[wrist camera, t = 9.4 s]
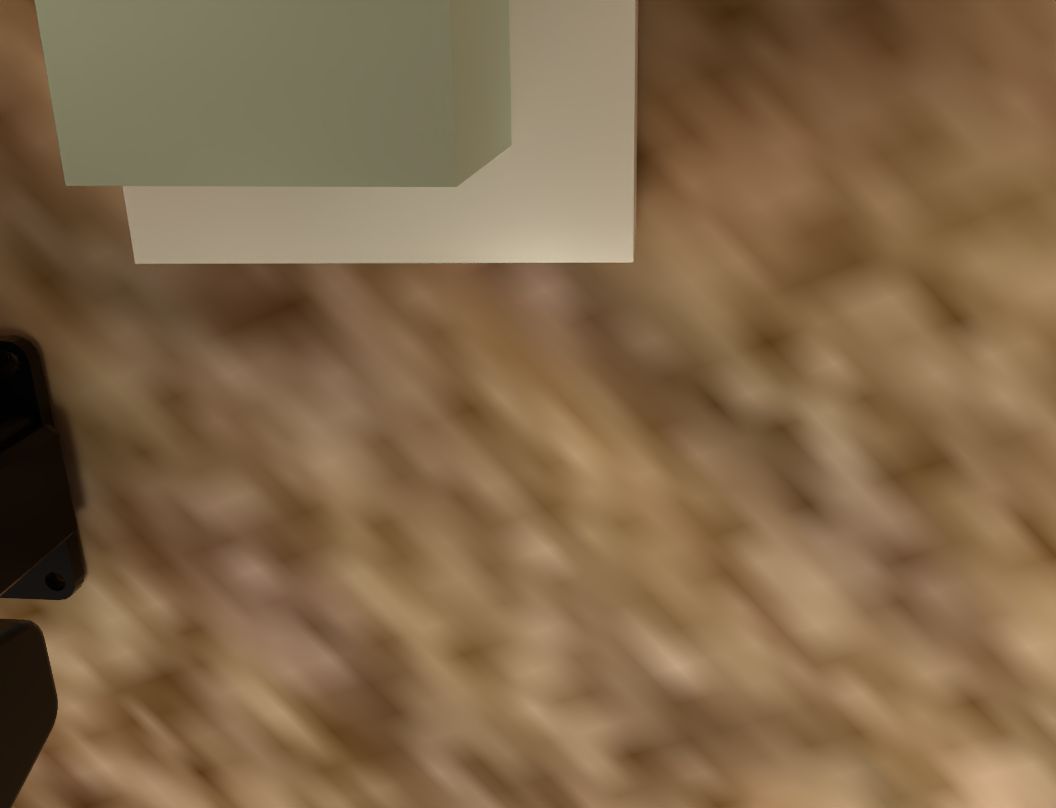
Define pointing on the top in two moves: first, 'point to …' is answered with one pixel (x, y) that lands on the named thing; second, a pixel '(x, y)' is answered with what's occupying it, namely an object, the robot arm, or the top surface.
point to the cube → (277, 91)
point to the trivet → (476, 204)
